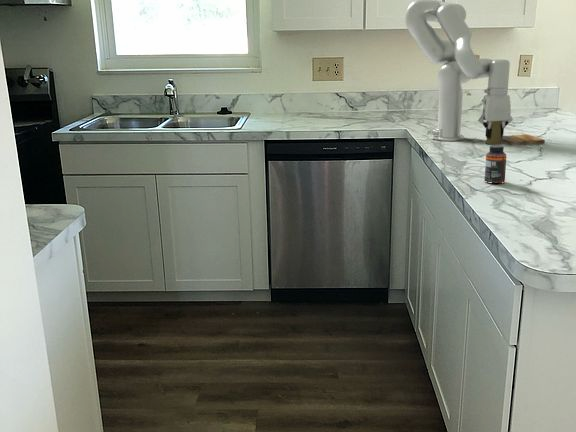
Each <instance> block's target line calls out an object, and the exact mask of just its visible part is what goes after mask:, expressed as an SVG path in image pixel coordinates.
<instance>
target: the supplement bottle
mask: <svg viewBox="0 0 576 432" xmlns="http://www.w3.org/2000/svg"><path fill="white" fill-rule="evenodd" d="M504 148H505V147H504V145H502V144H500V145H489V152H487V153H486V154H485V166H484V167H485V168H484V182H485V181H487V182H492V183H502V182H504V183H505V181H506V167H507V154H506V153H505V152H504ZM502 184H503V183H502Z"/></svg>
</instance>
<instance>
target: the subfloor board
mask: <svg viewBox="0 0 576 432" xmlns="http://www.w3.org/2000/svg"><path fill="white" fill-rule="evenodd" d="M501 140H502V143H504V144H506V145H509V146H525V145H527V146H530V145H545V143H546V142H545V141H546V140H544V139H543V138H539V137H538V136H537V137H536V136H534V135H532V134H528V133H527V134H511V135H503V136H502V139H501Z"/></svg>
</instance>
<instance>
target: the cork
mask: <svg viewBox="0 0 576 432" xmlns="http://www.w3.org/2000/svg"><path fill="white" fill-rule="evenodd" d="M501 123H502V121H496V122H492V124H491V129H492V133H491V139H488V137H487V138H486V141H485V144H486V145H489V146H491V145H502V143H503V142H502V140H501Z"/></svg>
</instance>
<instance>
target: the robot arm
mask: <svg viewBox="0 0 576 432" xmlns="http://www.w3.org/2000/svg"><path fill="white" fill-rule="evenodd" d="M466 18H467V11H466V9H465V8H464V6H463V5H461V4H459V3H453V2H447V1H441V0H415V1H412V2H411V3H410V4H409V5H408V6H407V9H406V11H405V19H404V21H405V26H406V29H407V30H408V32H409V34H410V36H411V37H412V38H413V39H414V40H415V42H416V44H417V45H418V46H419V48H420V50H421V51H422V52H423V54H424V55H425V57H426V58H427V60H428V61H429V62H430V63H431V64H433V65H441V66H440V67H439V69H438V71H437V82H438V83H437V84H438V109H437V126H435V128H433V129H426V130H425V135H430V136H433V139H434V140H437V141H443V142H455V141H462V140H464V139H465V136H464V135H463V134H461V128H462V115H463V114H462V111H463V110H462V109H463V88H462V87H463V86H462V84H466V83H468V82H469V81H470V80H478V79H485V78H488V79H487V81H488V83H487V88H486V89H484V90H483V91H484V94H485V93H486V95H485V97H484V101H483V106H482V111H481V112H482V113H481V115H480V117H479V119H478V120H477V122H478V123H479V124H481V125H482V126H483V127H484V128H485V138H486V139H487V137H488V139H491V133H492V129H491V124H492V122H496V121H502V123H501V139H502V136H504V130H505V129H506V127H507V126H508V125H509V124H510V123H511V122H513V120H514V118H513V116H512V115H511V113H512V111H511V97H510V94H509V95H508V91H509V79H510V69H511V68H510V67H511V63H510V61H509V60H508V59H489V58H477V57H476V55H475V53H474V52H473V49H472V48H471V47H472V46H471V38H472V36H473V32H472V30H471V28H469V26H468V24H467V23H466V21H465V20H466ZM428 22H435V23H439V25H440V27H441V28H442V30H443V32H444V33H445V34H446V36H447V38H448V39H442V38H441V37H440V36H439V34H437V32H436V30H435V29H434V28H433V27H432V26H431V25H430V24H429V23H428Z"/></svg>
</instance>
